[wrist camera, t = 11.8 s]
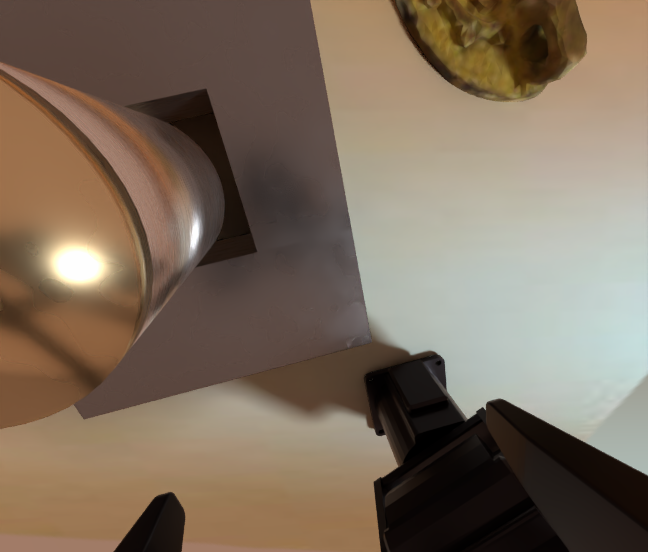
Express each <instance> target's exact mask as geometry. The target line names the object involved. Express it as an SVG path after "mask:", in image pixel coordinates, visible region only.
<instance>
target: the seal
mask: <svg viewBox="0 0 648 552" xmlns="http://www.w3.org/2000/svg"><path fill="white" fill-rule="evenodd" d="M395 1H396V4H397V7H398V10H399V11H400V14H401V17H402V20H403V21H404V23H405V24H406V26H407V28H408V31H409V33H410V35H411V36H412V37H413V38H414V39H415V40H416V42H417V44H418V45H419V47H420V48H421V50H422V52H423V53H424V55H425V56H426V58H427V59H428V60H429V62H430V63H431V64H432V65H433V66H434V67H435V68H436V69H437V70H438V71H439V72H440V73H441V74H442V75H443V76H444V77H445V79H446V80H447V81H448V82H449V83H451V84H452V85H454V86H455V87H457V88H459V89H461V90H463V91H464V92H467V93H469V94H472V95H475V96H477V97H481V98H484V99H487V100H492V101H501V102H520V101H525V100H528V99H531V98H534V97H536V96H537V95H539V94H540V93H541V92H542V91H543V90H544V88H545V87H546V86H547V84H548V83H550V82H553V81H555V80H559V79H561V78H562V77H563V76H565V75H566V74H567V73H568V72H570V71H571V70H572V69H573V68H574V67H575V66H576V65H577V64H578V63H579V62H580V61H581V60H582V59H583V57H584V56H585V55H586V53H587V52H586V45H587V34H586V31H585V29H584V27H583V24H582V21H581V18H580V15H579V11H578V7H577V4H576V1H575V0H395Z"/></svg>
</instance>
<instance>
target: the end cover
mask: <svg viewBox="0 0 648 552" xmlns="http://www.w3.org/2000/svg"><path fill="white" fill-rule="evenodd" d="M224 214H225V199H224V192H223V188H222V184H221V181H220V178H219V176H218V173H217V171H216V169H215V168H214V166H213V164H212V162H211V161H210V159H209V158H208V156H207V155H206V153H205V152H204V151H203V150H202V149H201V148H200V147H199V145H198V144H197V143H196V142H194V141H193V140H192V139H191V138H190V137H189V136H188V135H186V134H185V133H183V132H182V131H181V130H179V129H178V128H176V127H174V126H172V125H170V124H169V123H167V122H164V121H162V120H159V119H157V118H154V117H151V116H149V115H146V114H143V113H140V112H138V111H135V110H132V109H129V108H126V107H124V106H121V105H118V104H115V103H113V102H110V101H107V100H104V99H101V98H99V97H96V96H93V95H90V94H88V93H85V92H82V91H79V90H77V89H74V88H71V87H68V86H65V85H63V84H60V83H57V82H54V81H52V80H49V79H46V78H43V77H40V76H38V75H35V74H32V73H29V72H27V71H24V70H21V69H18V68H16V67H13V66H10V65H7V64H4V63H2V62H0V429H2V428H7V427H12V426H17V425H21V424H26V423H29V422H32V421H36V420H39V419H42V418H45V417H48V416H50V415H52V414H55V413H57V412H59V411H61V410H63V409H66V408H68V407H70V406H71V405H73V404H74V403H76V402H78V401H79V400H81V399H82V398H84V397H86V396H87V395H88V394H89V393H91V392H92V391H93V390H94V389H95V388H96V387H98V386H99V385H100V384H101V383H102V382H103V381H104V380H105V379H106V378H107V376H108V375H109V374H110V373H111V372H112V371H113V370H114V369H115V367H116V366H117V365H118V364H119V362H120V361H121V360H122V358H123V357H124V356H125V355H126V353H127V352H128V351H129V350H130V348H131V347H132V346H133V345H134V343H135V342H136V341H137V340H138V338H139V337H140V336H141V335H142V333H143V332H144V331H145V330H146V328H147V327H148V326H149V325H150V323H151V322H152V321H153V320H154V318H155V317H156V316H157V315H158V313H159V312H160V311H161V310H162V308H163V307H164V306H165V305H166V303H167V302H168V301H169V300H170V298H171V297H172V296H173V295H174V293H175V292H176V291H177V289H178V288H179V287H180V286H181V284H182V283H183V282H184V281H185V279H186V278H187V277H188V276H189V274H190V273H191V272H192V271H193V269H194V268H195V267H196V266H197V264H198V263H199V262H200V261H201V259H202V258H203V257H204V256H205V254H206V253H207V252H208V251H209V249H210V248H211V247H212V246H213V244H214V242H215V241H216V239H217V238H218V235H219V233H220V231H221V228H222V225H223V221H224Z"/></svg>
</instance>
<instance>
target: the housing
mask: <svg viewBox="0 0 648 552" xmlns="http://www.w3.org/2000/svg"><path fill="white" fill-rule="evenodd" d="M0 62H2V63H4V64H7V65H10V66H13V67H16V68H18V69H21V70H24V71H27V72H29V73H32V74H35V75H38V76H40V77H43V78H46V79H49V80H52V81H54V82H57V83H60V84H63V85H65V86H68V87H71V88H74V89H77V90H79V91H82V92H85V93H88V94H90V95H93V96H96V97H99V98H101V99H104V100H107V101H110V102H113V103H115V104H118V105H121V106H124V107H126V108H129V109H132V110H135V111H138V112H140V113H143V114H146V115H149V116H151V117H154V118H157V119H159V120H162V121H164V122H172V121H176V120H181V119H186V118H190V117H195V116H199V115H204V114H208V113H213V112H214V114H215V117H216V121H217V124H218V127H219V130H220V134H221V137H222V140H223V143H224V146H225V150H226V153H227V156H228V159H229V162H230V166H231V169H232V172H233V175H234V179H235V182H236V185H237V188H238V191H239V195H240V198H241V201H242V204H243V207H244V211H245V214H246V217H247V220H248V223H249V227H250V230H251V233H249V234H245V235H241V236H237V237H232V238H228V239H224V240H220V241H216V242H214V244H213V246H212V247H211V248H210V249H209V251H208V252H207V253H206V254H205V256H204V257H203V258H202V259H201V261H200V262H199V263H198V264H197V266H196V267H195V268H194V269H193V271H192V272H191V273H190V274H189V276H188V277H187V278H186V279H185V281H184V282H183V283H182V284H181V286H180V287H179V288H178V289H177V291H176V292H175V293H174V295H173V296H172V297H171V298H170V300H169V301H168V302H167V303H166V305H165V306H164V307H163V308H162V310H161V311H160V312H159V313H158V315H157V316H156V317H155V318H154V320H153V321H152V322H151V323H150V325H149V326H148V327H147V328H146V330H145V331H144V332H143V333H142V335H141V336H140V337H139V338H138V340H137V341H136V342H135V343H134V345H133V346H132V347H131V348H130V350H129V351H128V352H127V353H126V355H125V356H124V357H123V358H122V360H121V361H120V362H119V364H118V365H117V366H116V367H115V369H114V370H113V371H112V372H111V373H110V374H109V375H108V376H107V378H106V379H105V380H104V381H103V382H102V383H101V384H100V385H99V386H98V387H96V388H95V389H94V390H93V391H92V392H91V393H89V394H88V395H87V396H86V397H84V398H82V399H81V400H79V401H78V402H76V403H74V406H75V407H76V409H77V410H78V412H79V413H80V414H81V416H82V417H83V419H87V418H91V417H95V416H98V415H102V414H106V413H110V412H113V411H117V410H121V409H125V408H128V407H132V406H136V405H140V404H143V403H147V402H151V401H155V400H158V399H162V398H166V397H169V396H173V395H177V394H181V393H184V392H188V391H192V390H196V389H199V388H203V387H207V386H211V385H214V384H218V383H222V382H226V381H229V380H233V379H237V378H241V377H244V376H248V375H252V374H255V373H259V372H263V371H267V370H270V369H274V368H278V367H282V366H285V365H289V364H293V363H297V362H300V361H304V360H308V359H312V358H315V357H319V356H323V355H327V354H330V353H334V352H338V351H342V350H345V349H349V348H353V347H356V346H360V345H364V344H368V343H371V342H372V340H371V334H370V329H369V323H368V318H367V312H366V307H365V301H364V296H363V290H362V285H361V279H360V274H359V268H358V263H357V257H356V252H355V246H354V240H353V235H352V229H351V224H350V218H349V213H348V207H347V202H346V196H345V191H344V185H343V180H342V174H341V169H340V163H339V158H338V152H337V147H336V141H335V136H334V130H333V125H332V119H331V114H330V108H329V102H328V97H327V91H326V86H325V80H324V75H323V69H322V64H321V58H320V53H319V47H318V42H317V36H316V31H315V25H314V20H313V14H312V9H311V3H310V0H0Z"/></svg>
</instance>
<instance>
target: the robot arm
mask: <svg viewBox="0 0 648 552" xmlns="http://www.w3.org/2000/svg"><path fill="white" fill-rule="evenodd" d="M438 360H439V361H438ZM437 361H438V362H437ZM370 379H373V380H371V381H369V380H370ZM364 381H365V386H366V391H367V396H368V401H369V405H370V410H371V415H372V420H373V425H374V430H375V432H376V435H378V436H383V435H386V436H387V439H388V441H389V444H390V447H391V449H392V452H393V454H394V457H395V459H396V462H397V464H398V467H397V468H396V469H395V470H393V471H392V472H390V473H389V474H387V475H386V476H384V477H383V478H381V477H380V478H379V479H377V480H376V481H374V490H375V500H376V510H377V519H378V529H379V538H380V547H381V552H648V475H646V474H644V473H642V472H640V471H638V470H636V469H634V468H632V467H631V466H629V465H627V464H625V463H623V462H621V461H619V460H617V459H615V458H614V457H612V456H609V455H608V454H606V453H604V452H602V451H600V450H598V449H596V448H595V447H593V446H591V445H589V444H587V443H585V442H583V441H581V440H579V439H577V438H576V437H574V436H572V435H570V434H568V433H566V432H564V431H562V430H560V429H559V428H557V427H555V426H553V425H551V424H549V423H547V422H545V421H543V420H541V419H540V418H538V417H536V416H534V415H532V414H530V413H528V412H526V411H524V410H522V409H521V408H519V407H517V406H515V405H513V404H511V403H509V402H507V401H505V400H503V399H495V400H492V401H488V402H487V404H486V410H485V409H484V408H483V407H482V408H481V409H479V410H478V411H476V414H475V415H473V416H472V417H471V418H469V419H467V418H466V417H465V415H464V414H463V412H462V411H461V410H460V408H459V407H458V406H457V404H456V403H455V402H454V400H453V399H452V398H451V396H450V395H449V393H448V392H447V388H446V375H445V361H444V359H443V358H442V357H441V356H440V355H434V356H430V357H426V358H423V359H419V360H415V361H412V362H408V363H404V364H401V365H397V366H393V367H390V368H386V369H382V370H379V371H375V372H371V373H368V374H367V375H366V376H365V377H364ZM184 525H185V512H184V509H183V507H182V505H181V504H180V502H179V501H178V499H177V497H176V496H175V494H174V493H172V492H168V493H165V494H161V495H158V496H156V497H155V498H154V499H153V500H152V502H151V503H150V504H149V506H148V507H147V508H146V510H145V511H144V512H143V513H142V515H141V516H140V517H139V519H138V520H137V521H136V523H135V524H134V525H133V527H132V528H131V529H130V531H129V532H128V533H127V535H126V536H125V537H124V539H123V540H122V541H121V543H120V544H119V545H118V547H117V548H116V549H115V551H114V552H181V551H182V543H183V534H184Z"/></svg>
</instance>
